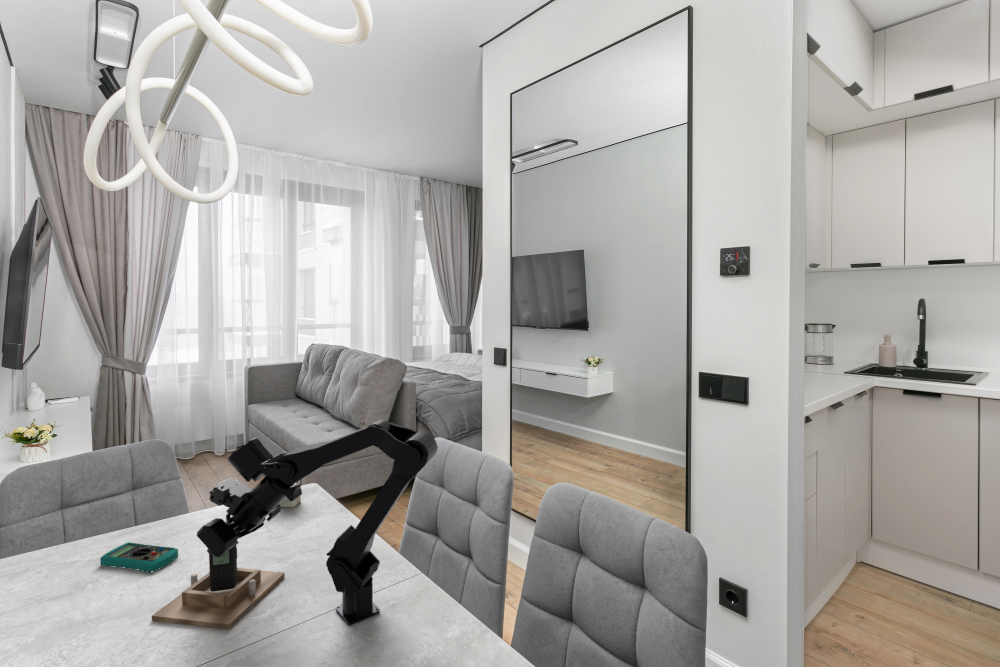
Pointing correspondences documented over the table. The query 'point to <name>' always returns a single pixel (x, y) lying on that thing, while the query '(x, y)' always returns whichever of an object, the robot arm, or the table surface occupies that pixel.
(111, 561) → the digital multimeter
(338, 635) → the table surface
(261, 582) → the wooden frame board
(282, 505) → the skincare box
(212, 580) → the walkie-talkie
